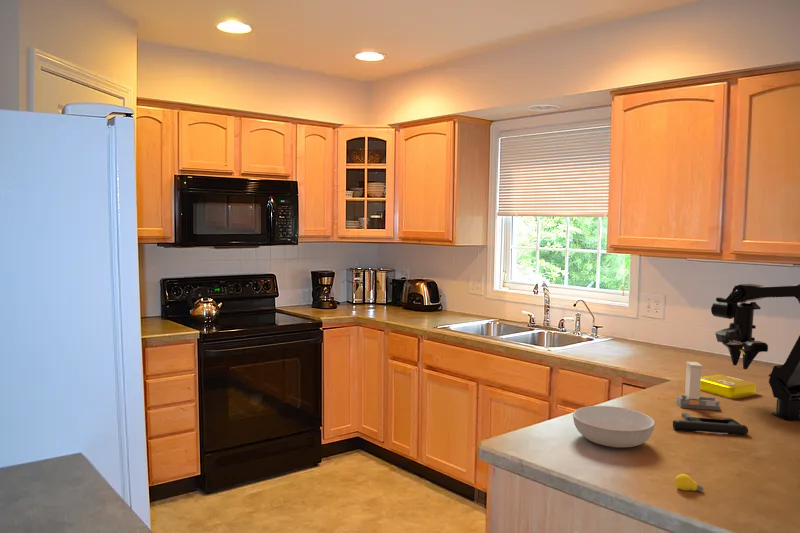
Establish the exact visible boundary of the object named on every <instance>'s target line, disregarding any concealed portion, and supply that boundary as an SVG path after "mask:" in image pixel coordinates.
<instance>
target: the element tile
mask: <svg viewBox="0 0 800 533" xmlns="http://www.w3.org/2000/svg"><path fill="white" fill-rule="evenodd" d="M756 388H757V384H756V383H755V382H754V381H748V380H745V379H740V378H737V377H732V376H728V375H724V374H720V373H719V374H718V373H717V374H713V375H704V376H701V384H700V392H705V393H708V394H711V395H715V396H720V397H723V398H726V399H727V398H728V399H741V398H746V397H751V396H755V395H756V393H757V392H756V390H757V389H756Z"/></svg>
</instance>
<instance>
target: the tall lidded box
mask: <svg viewBox="0 0 800 533" xmlns="http://www.w3.org/2000/svg"><path fill="white" fill-rule="evenodd" d="M685 365H686V371H685V384H684V385H685V386H684V387H685V388H684V395H686V399H696V400H698V399H700V396H701V395H700V394H701V390H700V384H701V377H702V369H703V365H702V364H700V363H699V362H698V361H687V360H686V361H685Z"/></svg>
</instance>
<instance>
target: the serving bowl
mask: <svg viewBox="0 0 800 533" xmlns="http://www.w3.org/2000/svg"><path fill="white" fill-rule="evenodd" d="M572 416H573V423H574V426H575V428H576V430H577V431H578V432H579V434H580V435H581V436H583V437H584V438H585V439H587V440H589V441H591V442H592V443H595V444H598V445H602V446H605V447H608V448H609V447H610V448H632V447H636V446H639V445H642V444H644V443H646V442H647V441H648V440H649V439H650V438H651V437H652V436H653V435H652V434H653V433H654V430H655V425H656V422H655V420H654V419H653V418H652V417H651V416H649V415H647V414H645V413H642V412H640V411H637V410H633V409H630V408H625V407H621V406H620V407H619V406H613V405H611V406H610V405H589V406H583V407H582V406H581V407H579V408H578V409H575V410H574V411H573V413H572Z"/></svg>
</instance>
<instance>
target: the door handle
mask: <svg viewBox="0 0 800 533" xmlns="http://www.w3.org/2000/svg"><path fill="white" fill-rule="evenodd" d="M682 417H683V418H684V419H685V420H686V421H685V420H684V419H683V418H682ZM681 418H682V419H677V420H673V421H672V429H673V430H676V431H679V430H683V431H682V432H692V431H696V432H708V433H707V434H709V433H719V434H718V435H722V434H728V435H731V434H735V436H747V435H748V433H749V428H748V427H747V425H745V424H741V423H739V422H738V421H737V420H735V419H733V418H729V417H726V418H725V417H724V419H721V418H708V417H707V418H706V417H693V416H692V415H690V414H689V413H688V412H681ZM696 432H695V433H696Z"/></svg>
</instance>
